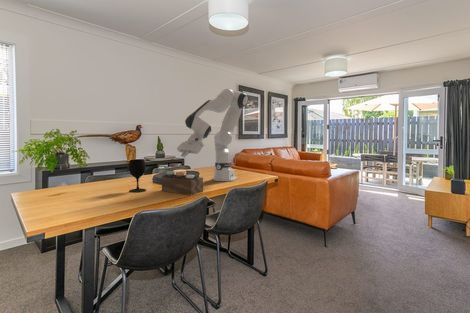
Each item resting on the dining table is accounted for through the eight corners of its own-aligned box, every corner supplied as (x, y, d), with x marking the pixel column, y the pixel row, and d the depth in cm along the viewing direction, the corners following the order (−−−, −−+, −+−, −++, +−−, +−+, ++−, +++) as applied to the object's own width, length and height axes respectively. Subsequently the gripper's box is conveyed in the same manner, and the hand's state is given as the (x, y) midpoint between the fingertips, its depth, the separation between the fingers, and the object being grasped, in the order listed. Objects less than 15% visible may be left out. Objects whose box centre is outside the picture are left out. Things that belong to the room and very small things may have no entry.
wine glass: (135, 193, 161) (134, 161, 159) (125, 191, 167) (125, 160, 166) (149, 190, 169) (149, 159, 168) (140, 188, 176) (139, 158, 174)
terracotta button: (179, 174, 169) (179, 171, 169) (185, 175, 167) (185, 172, 167) (174, 176, 165) (174, 172, 165) (180, 176, 163) (180, 173, 162)
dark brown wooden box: (174, 187, 180) (174, 173, 179) (202, 191, 168) (202, 176, 167) (161, 190, 169) (161, 175, 168) (191, 195, 158) (191, 179, 157)
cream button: (189, 177, 166) (189, 174, 166) (195, 178, 163) (195, 175, 163) (184, 179, 161) (184, 175, 161) (190, 179, 159) (190, 176, 159)
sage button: (170, 173, 173) (170, 170, 173) (176, 174, 171) (176, 171, 171) (164, 174, 169) (164, 171, 169) (170, 175, 166) (170, 172, 166)
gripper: (181, 138, 189) (170, 152, 183) (201, 139, 176) (190, 154, 170) (186, 144, 193) (175, 158, 186) (206, 145, 180) (195, 160, 173)
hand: (182, 156), depth 178 cm, fingers closed
